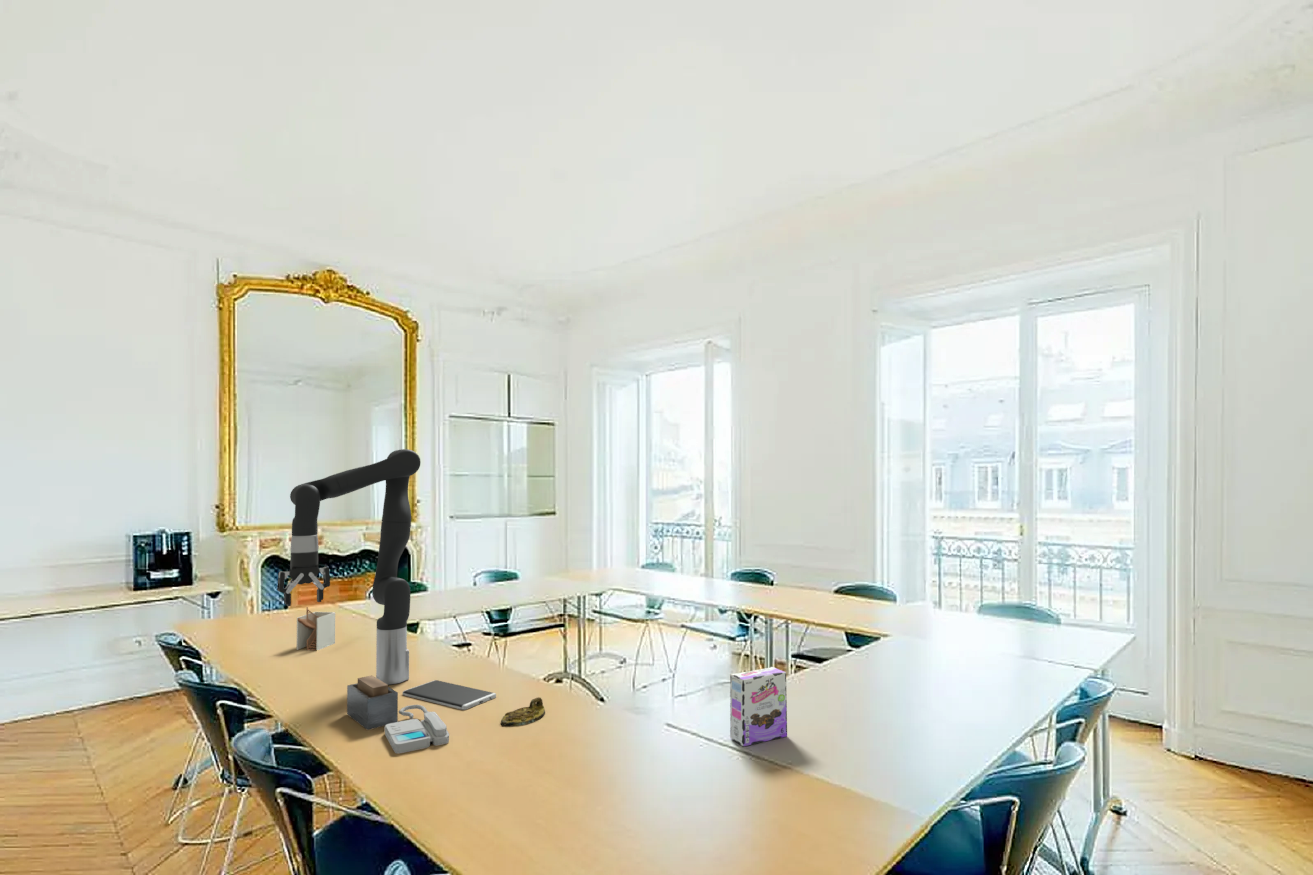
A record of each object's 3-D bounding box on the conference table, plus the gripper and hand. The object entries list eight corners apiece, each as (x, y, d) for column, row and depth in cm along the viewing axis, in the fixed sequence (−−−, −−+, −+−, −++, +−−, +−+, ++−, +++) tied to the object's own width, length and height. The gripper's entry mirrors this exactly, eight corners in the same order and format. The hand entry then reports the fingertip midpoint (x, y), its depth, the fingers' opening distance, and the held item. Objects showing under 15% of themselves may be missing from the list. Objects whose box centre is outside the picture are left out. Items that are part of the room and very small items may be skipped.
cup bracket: (375, 707, 201) (376, 679, 201) (397, 722, 189) (397, 692, 190) (347, 714, 196) (347, 685, 196) (367, 730, 184) (367, 699, 184)
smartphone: (463, 712, 198) (463, 706, 198) (401, 696, 212) (401, 690, 212) (497, 698, 209) (497, 692, 209) (435, 684, 223) (435, 679, 224)
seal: (515, 735, 183) (554, 716, 196) (517, 717, 183) (555, 700, 196) (491, 723, 188) (530, 706, 201) (492, 706, 188) (531, 690, 201)
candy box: (743, 747, 170) (742, 679, 171) (729, 739, 176) (729, 673, 176) (788, 737, 177) (787, 671, 178) (774, 729, 182) (773, 665, 183)
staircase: (296, 651, 266) (296, 607, 266) (314, 643, 276) (315, 601, 277) (317, 651, 264) (317, 607, 265) (334, 644, 275) (335, 602, 276)
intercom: (427, 698, 197) (450, 726, 175) (427, 713, 196) (450, 743, 175) (377, 706, 190) (395, 737, 168) (377, 723, 190) (394, 755, 168)
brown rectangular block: (371, 693, 199) (372, 675, 199) (387, 703, 190) (388, 684, 190) (357, 696, 196) (357, 678, 196) (373, 707, 187) (373, 688, 187)
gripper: (325, 547, 220) (325, 599, 219) (275, 551, 210) (274, 605, 209) (333, 549, 214) (332, 602, 213) (282, 553, 204) (281, 609, 204)
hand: (303, 603), depth 211 cm, fingers open, 8 cm apart
